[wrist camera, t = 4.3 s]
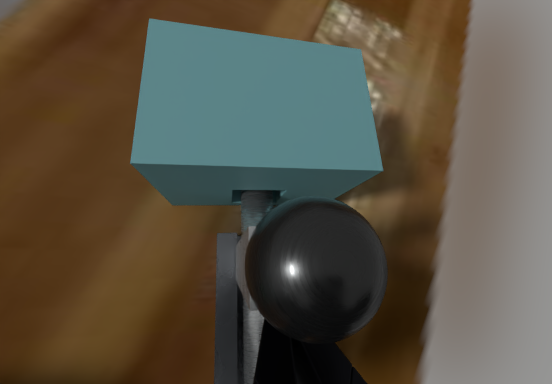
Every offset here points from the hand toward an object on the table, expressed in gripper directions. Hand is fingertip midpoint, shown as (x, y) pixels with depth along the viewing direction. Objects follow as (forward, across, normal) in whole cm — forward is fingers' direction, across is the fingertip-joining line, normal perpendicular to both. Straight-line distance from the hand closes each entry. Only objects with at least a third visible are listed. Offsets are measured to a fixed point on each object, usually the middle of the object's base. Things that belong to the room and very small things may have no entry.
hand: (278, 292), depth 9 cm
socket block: (+12, 0, -1) cm, 13 cm away
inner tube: (+5, 0, +4) cm, 7 cm away
